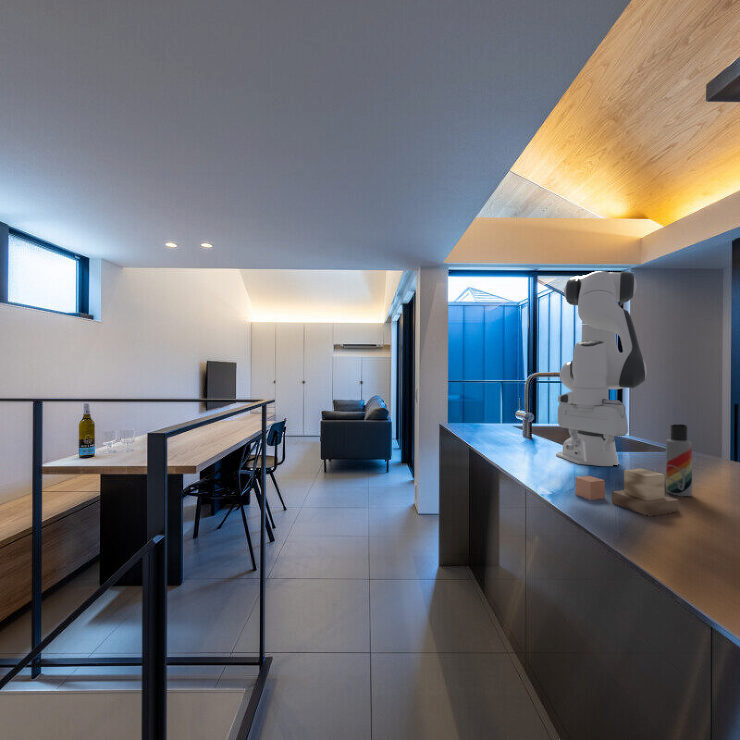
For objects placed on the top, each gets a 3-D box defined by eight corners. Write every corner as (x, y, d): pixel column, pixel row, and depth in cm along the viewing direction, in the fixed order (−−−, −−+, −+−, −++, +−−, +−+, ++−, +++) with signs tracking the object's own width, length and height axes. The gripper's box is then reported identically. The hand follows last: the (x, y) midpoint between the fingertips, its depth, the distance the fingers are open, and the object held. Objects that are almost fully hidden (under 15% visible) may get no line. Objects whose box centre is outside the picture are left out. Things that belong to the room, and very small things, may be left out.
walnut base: (611, 502, 102) (611, 491, 102) (639, 499, 105) (639, 488, 105) (649, 516, 92) (649, 504, 92) (678, 511, 95) (678, 499, 95)
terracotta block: (575, 494, 109) (575, 477, 109) (589, 492, 110) (589, 475, 110) (590, 500, 104) (590, 481, 104) (604, 498, 106) (604, 480, 106)
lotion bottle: (670, 495, 108) (670, 424, 108) (663, 489, 113) (663, 422, 113) (695, 498, 106) (695, 425, 106) (686, 491, 111) (686, 422, 111)
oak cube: (624, 493, 101) (624, 470, 101) (641, 490, 102) (641, 468, 102) (646, 500, 95) (646, 476, 95) (664, 498, 97) (664, 474, 97)
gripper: (634, 400, 98) (634, 454, 98) (570, 396, 118) (570, 441, 117) (615, 400, 96) (615, 456, 96) (553, 396, 116) (553, 442, 115)
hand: (590, 447), depth 107 cm, fingers open, 8 cm apart
